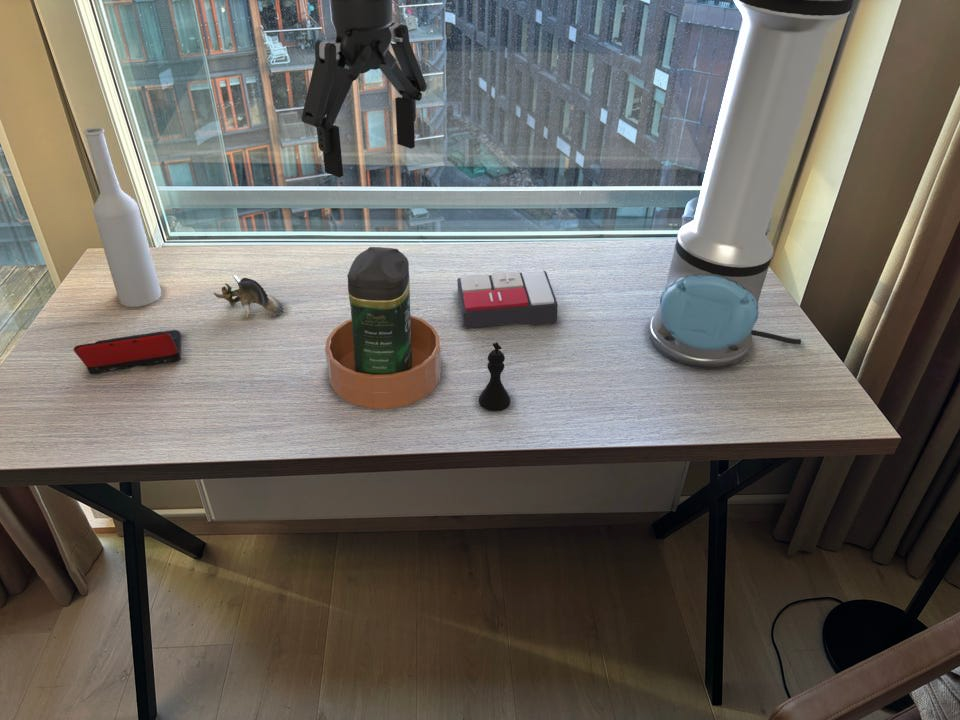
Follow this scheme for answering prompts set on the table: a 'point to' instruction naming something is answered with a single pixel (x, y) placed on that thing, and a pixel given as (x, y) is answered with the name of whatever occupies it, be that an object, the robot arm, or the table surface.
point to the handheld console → (130, 351)
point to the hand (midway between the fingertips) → (371, 159)
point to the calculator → (507, 299)
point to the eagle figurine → (251, 296)
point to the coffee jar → (380, 311)
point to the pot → (389, 386)
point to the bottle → (121, 231)
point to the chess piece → (495, 383)
